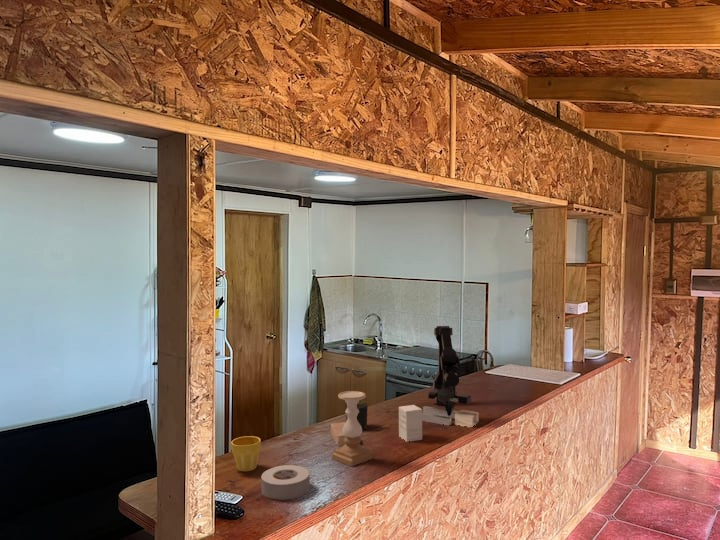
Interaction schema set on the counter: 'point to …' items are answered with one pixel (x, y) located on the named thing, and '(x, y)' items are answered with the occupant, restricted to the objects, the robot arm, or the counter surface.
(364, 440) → the counter surface
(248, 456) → the plant pot
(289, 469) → the tape roll
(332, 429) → the brick
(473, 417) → the block
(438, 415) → the chute
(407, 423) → the supplement box
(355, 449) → the candle holder
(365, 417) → the pen holder
